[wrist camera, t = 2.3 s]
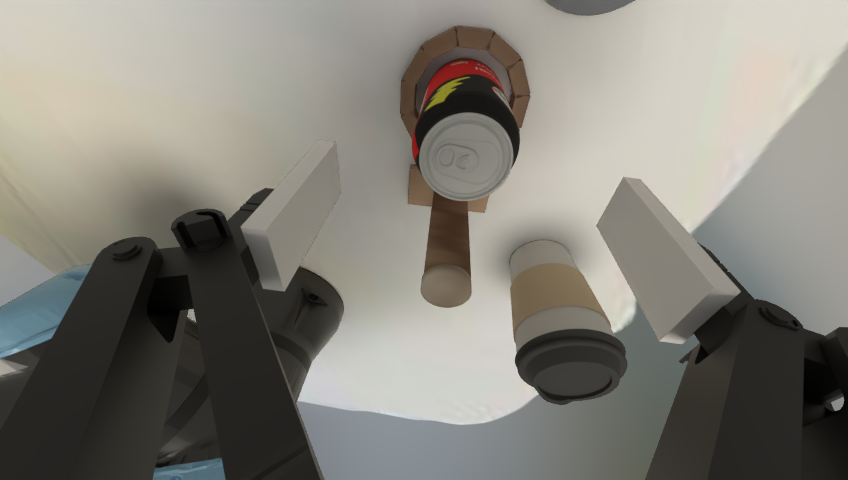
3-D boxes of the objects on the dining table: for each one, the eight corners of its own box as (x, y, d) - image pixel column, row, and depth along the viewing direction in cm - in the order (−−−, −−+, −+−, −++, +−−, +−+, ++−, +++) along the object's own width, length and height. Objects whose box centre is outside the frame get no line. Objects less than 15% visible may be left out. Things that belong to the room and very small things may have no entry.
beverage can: (487, 142, 29) (502, 218, 19) (420, 128, 28) (401, 199, 19) (512, 65, 25) (544, 115, 15) (433, 48, 24) (417, 88, 15)
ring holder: (398, 198, 33) (367, 311, 22) (406, 19, 23) (356, 54, 12) (493, 209, 33) (512, 329, 22) (542, 35, 23) (624, 85, 12)
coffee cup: (526, 221, 34) (561, 345, 22) (598, 247, 35) (667, 377, 23) (487, 275, 39) (499, 397, 28) (550, 295, 41) (587, 419, 29)
